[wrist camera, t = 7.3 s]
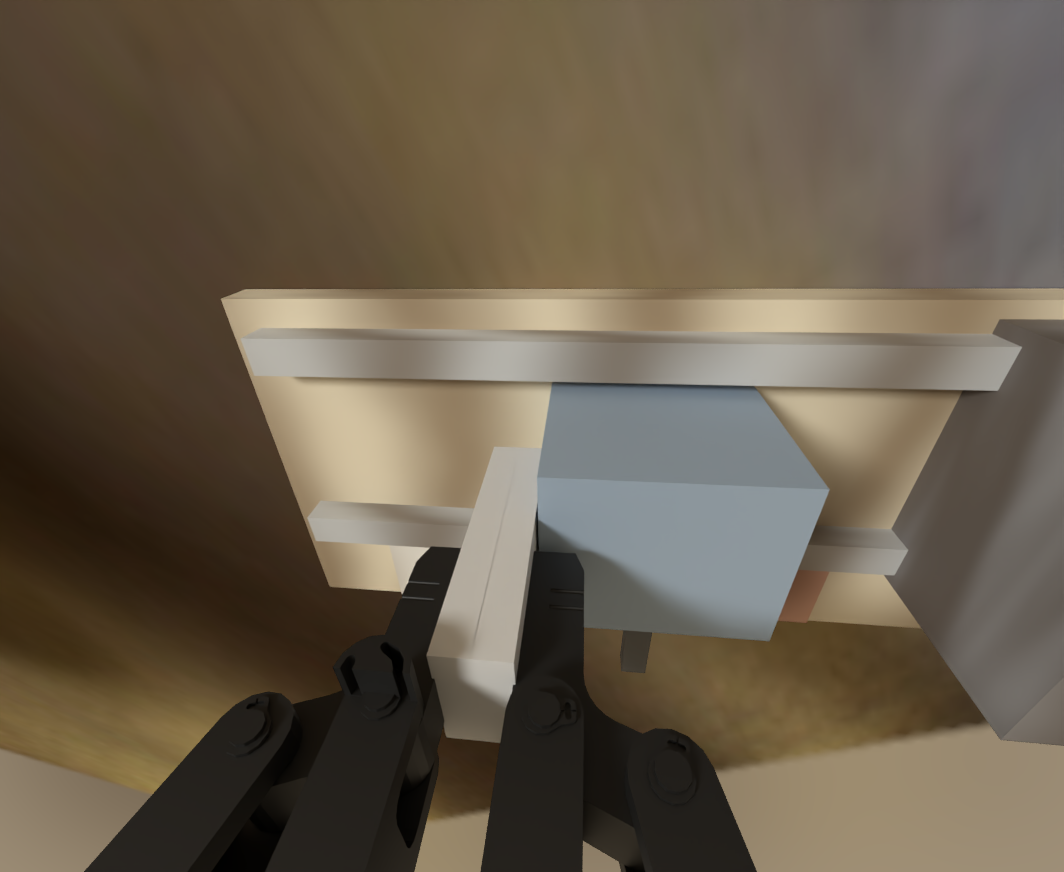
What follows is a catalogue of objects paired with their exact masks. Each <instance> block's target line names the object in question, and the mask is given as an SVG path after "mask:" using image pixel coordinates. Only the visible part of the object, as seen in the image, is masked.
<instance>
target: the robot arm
mask: <svg viewBox="0 0 1064 872" xmlns="http://www.w3.org/2000/svg"><path fill="white" fill-rule="evenodd" d="M541 449H542V448H520V447H494V449H493V452H492V455H491V458H490V461H489V464H488V467H487V471H486V474H485V477H484V480H483V483H482V486H481V489H480V492H479V495H478V498H477V501H476V504H475V508H474V511H473V514H472V517H471V520H470V523H469V526H468V529H467V532H466V535H465V538H464V541H463V544H462V548H453V547H436V546H431V547H430V548H429V549H428V550H427V551H426V552H425V553H424V554H423V555H422V556H421V557H420V558H419V559H418V560H417V561H416V563H415V566H414V568H413V571H412V573H411V575H410V578H409V580H408V584H407V585H406V587H405V589H404V592H403V594H402V599H400V601H399V603H398V606H397V608H396V610H395V613H394V615H393V618H392V620H391V622H390V625H389V627H388V629H387V632H386V634H385V635H378V636H370V637H368V638H366V639H363V640H361V641H359V642H356V643H355V644H354V645H352V646H351V647H350V648H349V649H347V650H346V651H345V652H344V653H342V655H341V656H340V658H339V659H338V660H337V662H336V663H335V665H334V666H333V669H334V671H335V674H336V676H337V678H338V680H339V683H340V685H341V687H342V691H340V692H337V693H334V694H331V695H328V696H324V697H320V698H316V699H312V700H308V701H304V702H299V703H295V704H291V702H290V701H289V700H288V699H287V698H286V697H285V696H283V695H282V694H280V693H273V692H264V693H260V694H256V695H252V696H250V697H248V698H247V699H245V700H243V701H241V702H239V703H238V704H236V705H235V706H233V707H232V708H231V709H230V710H229V711H228V712H227V713H226V714H225V715H223V716H222V717H221V718H220V719H219V720H218V722H217V723H216V724H215V725H214V726H213V727H212V728H211V729H210V731H209V732H208V733H207V734H206V735H205V736H204V737H203V738H202V740H201V741H200V742H199V743H198V744H197V745H196V746H195V747H194V749H193V750H192V751H191V752H190V753H189V754H188V755H187V756H186V758H185V759H184V760H183V761H182V762H181V763H180V764H179V765H178V767H177V768H176V769H175V770H174V771H173V772H172V773H171V774H170V776H169V777H168V778H167V779H166V780H165V781H164V782H163V783H162V785H161V786H160V787H159V788H158V789H157V790H156V791H155V792H154V794H153V795H152V796H151V797H150V798H149V799H148V800H147V802H146V803H145V804H144V805H143V806H142V807H141V808H140V809H139V811H138V812H137V813H136V814H135V815H134V816H133V817H132V818H131V819H130V821H129V822H128V823H127V824H126V825H125V826H124V827H123V829H122V830H121V831H120V832H119V833H118V834H117V835H116V836H115V838H114V839H113V840H112V841H111V842H110V843H109V844H108V846H106V848H105V849H104V850H103V851H102V852H101V853H100V854H99V855H98V857H97V858H96V859H95V860H94V861H93V862H92V863H91V864H90V866H89V867H88V868H87V869H86V870H85V871H84V872H414V870H415V867H416V862H417V858H418V854H419V850H420V846H421V842H422V837H423V833H424V829H425V825H426V821H427V817H428V813H429V809H430V805H431V800H432V796H433V792H434V788H435V784H436V780H437V776H438V767H439V757H438V753H437V748H438V745H439V741H440V737H441V733H442V729H443V725H444V729H445V734H446V737H448V738H457V739H467V740H477V741H487V742H496V743H500V748H499V754H498V761H497V768H496V774H495V781H494V787H493V794H492V800H491V807H490V813H489V820H488V827H487V833H486V840H485V847H484V854H483V859H482V866H481V872H582V855H583V853H582V852H583V846H582V845H583V841H585V842H586V843H588V844H590V845H592V846H593V847H595V848H597V849H598V850H600V851H602V852H603V853H605V854H607V855H608V856H610V857H612V858H614V859H615V860H617V861H619V864H620V868H621V872H757V871H756V868H755V866H754V864H753V861H752V859H751V857H750V854H749V852H748V849H747V847H746V845H745V842H744V840H743V837H742V835H741V832H740V830H739V828H738V825H737V823H736V820H735V818H734V816H733V813H732V811H731V809H730V806H729V804H728V801H727V799H726V796H725V794H724V791H723V789H722V787H721V784H720V782H719V780H718V777H717V775H716V772H715V770H714V768H713V766H712V764H711V763H710V761H709V759H708V758H707V756H706V754H705V753H704V751H703V750H702V749H701V748H700V747H699V746H698V745H697V744H696V743H695V742H694V741H692V740H691V739H690V738H689V737H688V736H686V735H683V734H681V733H679V732H677V731H675V730H672V729H657V728H655V729H653V730H651V731H648V732H646V733H643V734H642V733H640V732H637V731H635V730H633V729H631V728H629V727H627V726H625V725H622V724H620V723H618V722H616V721H614V720H613V719H611V718H609V717H608V716H606V715H605V714H604V713H603V712H602V711H601V710H600V709H599V708H597V707H596V705H595V704H594V702H593V701H592V699H591V698H590V696H589V694H588V692H587V689H586V686H585V682H584V674H583V666H584V569H583V567H582V565H581V563H580V561H579V559H578V557H577V555H576V553H560V552H543V551H539V536H538V496H537V474H538V468H539V462H540V456H541Z"/></svg>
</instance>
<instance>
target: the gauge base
mask: <svg viewBox="0 0 1064 872" xmlns="http://www.w3.org/2000/svg"><path fill="white" fill-rule="evenodd" d="M221 301H222V303H223V306H224V309H225V311H226V314H227V317H228V319H229V322H230V325H231V327H232V330H233V332H234V335H235V338H236V340H237V343H238V346H239V348H240V351H241V354H242V356H243V359H244V361H245V364H246V367H247V369H248V372H249V375H250V377H251V380H252V383H253V385H254V388H255V391H256V393H257V396H258V398H259V401H260V404H261V406H262V409H263V412H264V414H265V417H266V420H267V422H268V425H269V427H270V430H271V433H272V435H273V438H274V441H275V443H276V446H277V449H278V451H279V454H280V457H281V459H282V462H283V464H284V467H285V470H286V472H287V475H288V478H289V480H290V483H291V486H292V488H293V491H294V493H295V496H296V499H297V501H298V504H299V507H300V509H301V512H302V515H303V517H304V520H305V523H306V525H307V528H308V530H309V533H310V536H311V538H312V541H313V544H314V546H315V549H316V552H317V554H318V557H319V559H320V562H321V565H322V567H323V570H324V573H325V575H326V578H327V581H328V583H329V586H330V587H341V588H355V589H370V590H384V591H398V592H401V593H402V594H403V592H404V589H405V587H406V585H407V584H408V580H409V578H410V575H411V573H412V571H413V568H414V566H415V563H416V561H417V560H418V559H419V558H420V557H421V556H422V555H423V554H424V553H425V552H426V551H427V550H428V549H429V548H430V547H431V546H436V547H453V548H462V544H463V541H464V538H465V535H466V532H467V529H468V526H469V523H470V520H471V517H472V514H473V511H474V508H475V504H476V501H477V498H478V495H479V492H480V489H481V486H482V483H483V480H484V477H485V474H486V471H487V467H488V464H489V461H490V458H491V455H492V452H493V449H494V447H520V448H542V443H543V437H544V431H545V424H546V418H547V412H548V406H549V400H550V393H551V387H552V382H588V383H638V384H687V385H737V386H755V388H756V389H757V390H758V392H759V393H760V395H761V396H762V397H763V399H764V400H765V401H766V403H767V404H768V406H769V407H770V408H771V410H772V411H773V412H774V414H775V415H776V417H777V418H778V419H779V421H780V422H781V423H782V425H783V426H784V428H785V429H786V430H787V432H788V433H789V434H790V436H791V437H792V439H793V440H794V441H795V443H796V444H797V445H798V447H799V448H800V450H801V451H802V452H803V454H804V455H805V456H806V458H807V459H808V461H809V462H810V463H811V465H812V466H813V467H814V469H815V470H816V472H817V473H818V474H819V476H820V477H821V478H822V480H823V481H824V483H825V484H826V485H827V487H828V488H829V489H830V490H829V493H828V495H827V498H826V500H825V503H824V505H823V508H822V510H821V513H820V515H819V518H818V520H817V523H816V525H815V528H814V530H813V533H812V535H811V538H810V540H809V543H808V545H807V548H806V550H805V553H804V555H803V558H802V560H801V563H800V565H799V568H798V571H797V573H796V576H795V578H794V581H793V583H792V586H791V588H790V591H789V593H788V596H787V598H786V601H785V603H784V606H783V608H782V611H781V613H780V616H779V618H778V621H788V622H802V623H807V621H808V620H809V621H823V622H838V623H852V624H866V625H880V626H894V627H908V628H922V630H923V631H924V633H925V634H926V635H927V637H928V638H929V640H930V641H931V642H932V644H933V645H934V647H935V648H936V649H937V651H938V652H939V654H940V655H941V657H942V658H943V659H944V661H945V662H946V664H947V665H948V666H949V668H950V669H951V671H952V672H953V673H954V675H955V676H956V678H957V679H958V681H959V682H960V683H961V685H962V686H963V688H964V689H965V690H966V692H967V693H968V695H969V696H970V697H971V699H972V700H973V702H974V703H975V705H976V706H977V707H978V709H979V710H980V712H981V713H982V714H983V716H984V717H985V719H986V720H987V721H988V723H989V724H990V726H991V727H992V729H993V730H994V731H995V733H996V734H997V736H998V737H999V738H1000V739H1001V740H1007V741H1018V742H1029V743H1040V744H1051V745H1061V746H1064V289H245V290H243V291H240V292H238V293H235V294H232V295H230V296H227V297H225V298H222V299H221Z"/></svg>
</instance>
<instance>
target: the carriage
mask: <svg viewBox="0 0 1064 872" xmlns="http://www.w3.org/2000/svg"><path fill="white" fill-rule="evenodd" d="M829 490H830V489H829V488H828V487H827V485H826V484H825V483H824V481H823V480H822V478H821V477H820V476H819V474H818V473H817V472H816V470H815V469H814V467H813V466H812V465H811V463H810V462H809V461H808V459H807V458H806V456H805V455H804V454H803V452H802V451H801V450H800V448H799V447H798V445H797V444H796V443H795V441H794V440H793V439H792V437H791V436H790V434H789V433H788V432H787V430H786V429H785V428H784V426H783V425H782V423H781V422H780V421H779V419H778V418H777V417H776V415H775V414H774V412H773V411H772V410H771V408H770V407H769V406H768V404H767V403H766V401H765V400H764V399H763V397H762V396H761V395H760V393H759V392H758V390H757V389H756V388H755V386H737V385H687V384H638V383H588V382H552V387H551V393H550V400H549V406H548V412H547V418H546V424H545V431H544V437H543V443H542V449H541V456H540V462H539V468H538V474H537V496H538V536H539V551H543V552H560V553H576V555H577V557H578V559H579V561H580V563H581V565H582V567H583V569H584V627H588V628H601V629H615V630H623V637H622V646H621V654H620V658H621V671H626V672H638V673H645V670H646V664H647V658H648V653H649V647H650V642H651V636H652V632H654V633H667V634H681V635H694V636H707V637H720V638H734V639H747V640H760V641H770V638H771V636H772V633H773V631H774V628H775V626H776V623H777V621H778V618H779V616H780V613H781V611H782V608H783V606H784V603H785V601H786V598H787V596H788V593H789V591H790V588H791V586H792V583H793V581H794V578H795V576H796V573H797V571H798V568H799V565H800V563H801V560H802V558H803V555H804V553H805V550H806V548H807V545H808V543H809V540H810V538H811V535H812V533H813V530H814V528H815V525H816V523H817V520H818V518H819V515H820V513H821V510H822V508H823V505H824V503H825V500H826V498H827V495H828V493H829Z"/></svg>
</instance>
